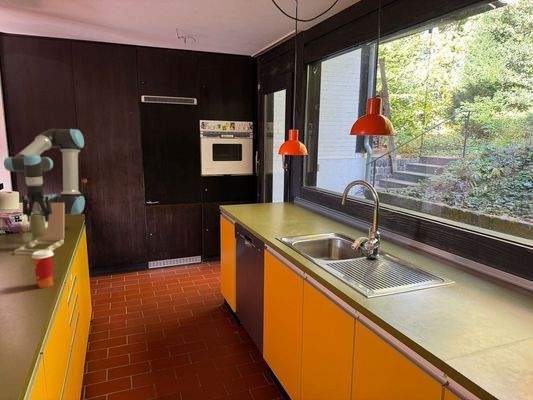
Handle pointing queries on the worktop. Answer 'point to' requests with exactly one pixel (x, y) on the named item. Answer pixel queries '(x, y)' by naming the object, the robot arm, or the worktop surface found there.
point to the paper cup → (43, 268)
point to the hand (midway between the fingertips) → (39, 227)
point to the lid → (55, 222)
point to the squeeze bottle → (37, 223)
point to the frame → (25, 249)
